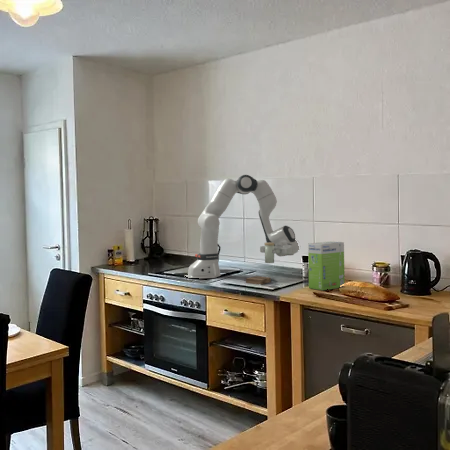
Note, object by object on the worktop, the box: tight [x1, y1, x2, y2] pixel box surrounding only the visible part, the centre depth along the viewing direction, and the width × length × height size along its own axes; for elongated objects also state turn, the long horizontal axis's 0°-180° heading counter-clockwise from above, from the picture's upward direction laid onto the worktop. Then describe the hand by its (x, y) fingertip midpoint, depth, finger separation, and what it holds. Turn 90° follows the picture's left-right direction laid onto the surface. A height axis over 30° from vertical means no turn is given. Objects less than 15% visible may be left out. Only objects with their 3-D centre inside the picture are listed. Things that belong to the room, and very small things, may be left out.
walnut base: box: [245, 275, 272, 285], centre depth 294 cm, size 10×10×2 cm
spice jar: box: [264, 242, 275, 264], centre depth 301 cm, size 6×6×12 cm
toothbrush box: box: [307, 241, 346, 291], centre depth 273 cm, size 18×10×24 cm, turn 126°
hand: (268, 251), depth 301 cm, fingers closed on spice jar, 5 cm apart
